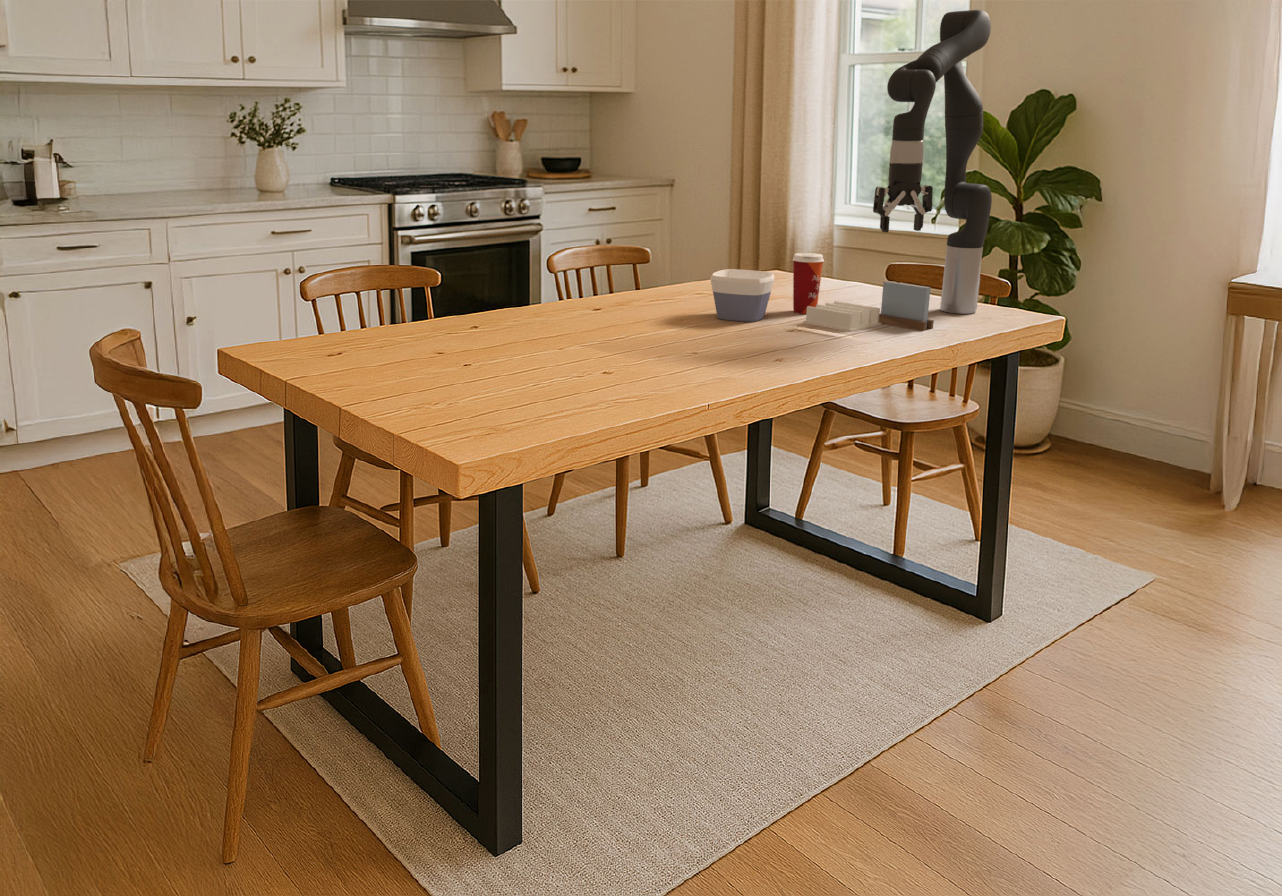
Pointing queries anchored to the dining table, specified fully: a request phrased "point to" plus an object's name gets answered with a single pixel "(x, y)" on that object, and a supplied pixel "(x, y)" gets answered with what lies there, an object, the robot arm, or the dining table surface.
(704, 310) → the dining table surface
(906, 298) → the grey-blue flat slab
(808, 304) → the coffee cup
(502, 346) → the dining table surface
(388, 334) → the dining table surface
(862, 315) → the rack
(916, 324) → the stand
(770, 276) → the bowl
